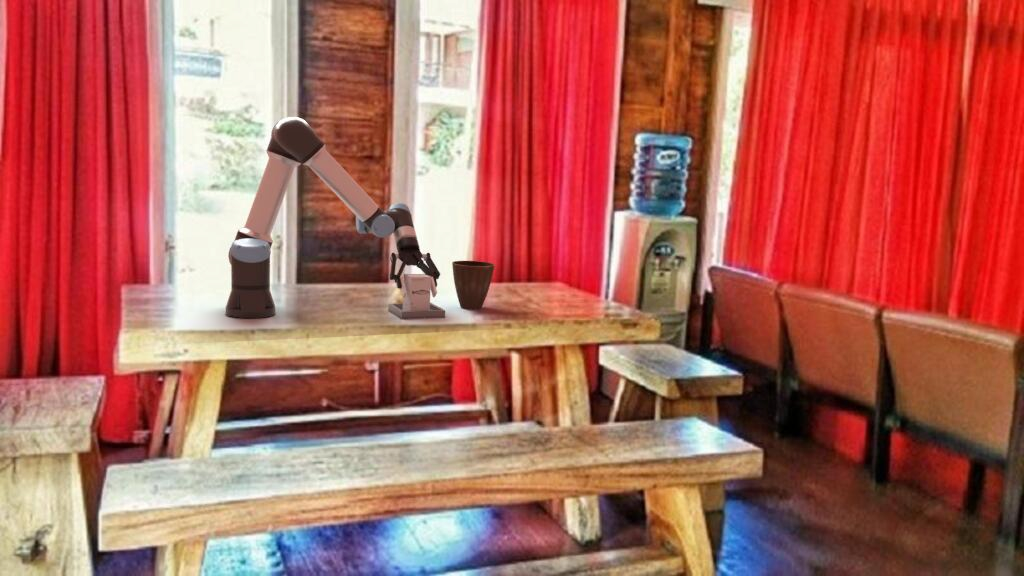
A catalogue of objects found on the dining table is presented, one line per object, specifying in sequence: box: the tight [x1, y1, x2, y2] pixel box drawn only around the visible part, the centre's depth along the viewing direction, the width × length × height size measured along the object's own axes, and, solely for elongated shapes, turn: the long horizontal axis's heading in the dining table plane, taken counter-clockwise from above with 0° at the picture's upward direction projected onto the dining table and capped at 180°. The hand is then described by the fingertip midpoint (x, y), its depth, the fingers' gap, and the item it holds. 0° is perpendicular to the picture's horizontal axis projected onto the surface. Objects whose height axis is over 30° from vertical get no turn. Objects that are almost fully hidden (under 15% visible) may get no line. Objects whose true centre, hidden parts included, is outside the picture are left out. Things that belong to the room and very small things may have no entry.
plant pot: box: [451, 260, 495, 311], centre depth 285 cm, size 15×15×16 cm
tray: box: [387, 301, 446, 320], centre depth 270 cm, size 15×15×2 cm
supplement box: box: [402, 273, 431, 311], centre depth 269 cm, size 7×7×13 cm
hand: (419, 295), depth 266 cm, fingers open, 10 cm apart
